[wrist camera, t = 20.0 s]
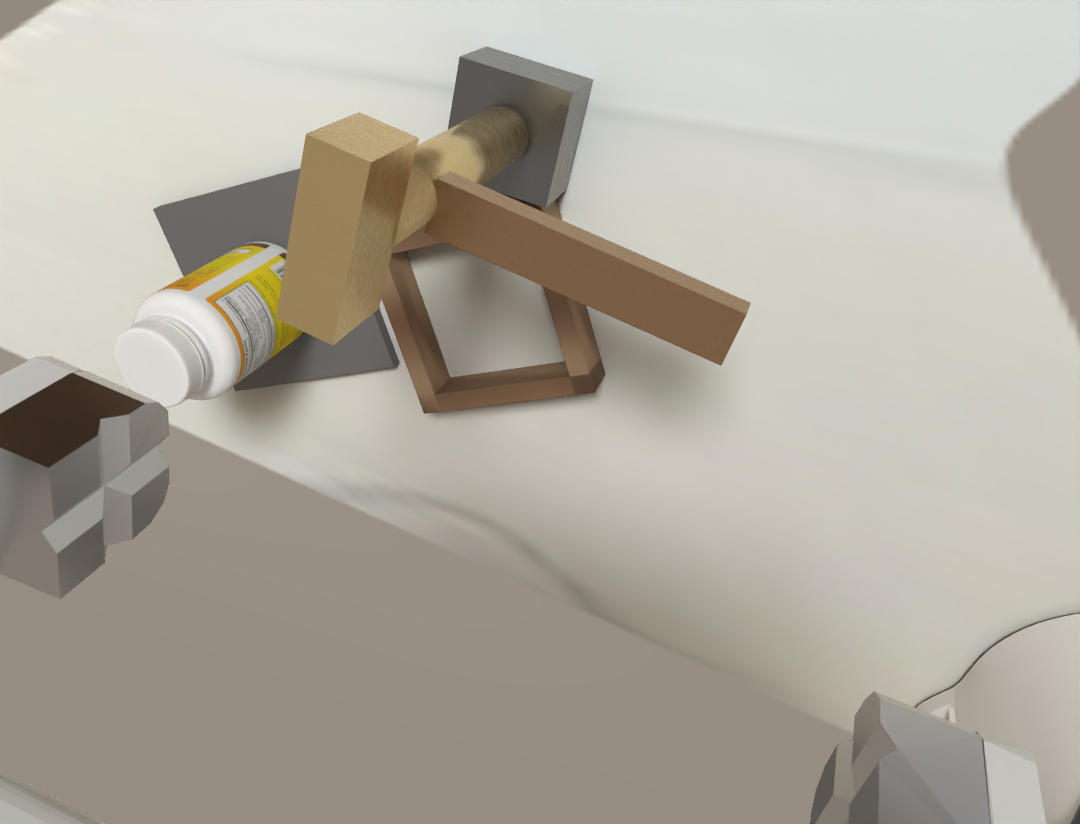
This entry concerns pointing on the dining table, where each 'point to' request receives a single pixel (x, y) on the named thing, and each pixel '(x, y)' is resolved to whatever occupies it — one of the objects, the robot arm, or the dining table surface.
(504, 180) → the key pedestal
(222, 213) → the rubber mat
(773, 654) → the dining table surface
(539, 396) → the cup collar
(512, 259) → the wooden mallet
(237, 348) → the supplement bottle
